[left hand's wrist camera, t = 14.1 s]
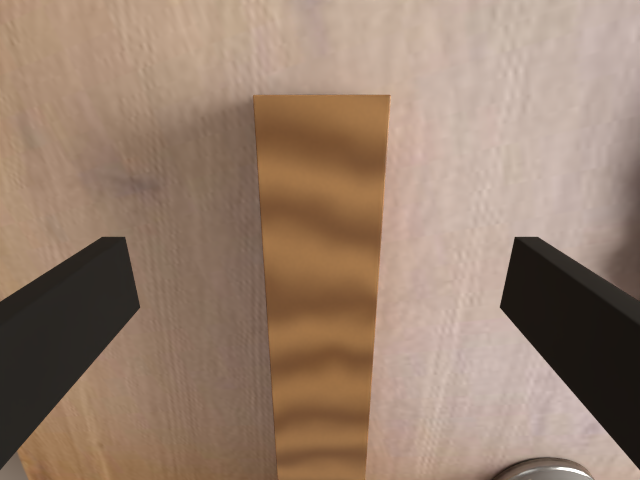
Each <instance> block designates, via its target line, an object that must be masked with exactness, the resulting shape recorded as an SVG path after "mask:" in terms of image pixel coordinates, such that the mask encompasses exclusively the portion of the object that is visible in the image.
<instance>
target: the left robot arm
mask: <svg viewBox="0 0 640 480" xmlns="http://www.w3.org/2000/svg"><path fill="white" fill-rule="evenodd" d="M139 308H140V304H139V300H138V295H137V290H136V286H135V281H134V276H133V272H132V267H131V262H130V258H129V253H128V248H127V244H126V239H125V237H101V238H100V239H98V240H97V241H95V242H94V243H92V244H90V245H89V246H87V247H86V248H84V249H83V250H81V251H79V252H78V253H76V254H75V255H73V256H72V257H70V258H68V259H67V260H65V261H64V262H62V263H60V264H59V265H57V266H56V267H54V268H53V269H51V270H49V271H48V272H46V273H45V274H43V275H42V276H40V277H38V278H37V279H35V280H34V281H32V282H31V283H29V284H27V285H26V286H24V287H23V288H21V289H20V290H18V291H16V292H15V293H13V294H12V295H10V296H9V297H7V298H5V299H4V300H2V301H1V302H0V470H1V468H2V467H3V466H4V465H5V464H6V463H7V461H8V460H9V459H10V458H11V457H12V456H13V454H14V453H15V452H16V451H17V450H18V449H19V448H20V446H21V445H22V444H23V443H24V442H25V441H26V439H27V438H28V437H29V436H30V435H31V434H32V432H33V431H34V430H35V429H36V428H37V427H38V425H39V424H40V423H41V422H42V421H43V420H44V419H45V417H46V416H47V415H48V414H49V413H50V412H51V410H52V409H53V408H54V407H55V406H56V405H57V403H58V402H59V401H60V400H61V399H62V398H63V396H64V395H65V394H66V393H67V392H68V391H69V389H70V388H71V387H72V386H73V385H74V384H75V383H76V381H77V380H78V379H79V378H80V377H81V376H82V374H83V373H84V372H85V371H86V370H87V369H88V367H89V366H90V365H91V364H92V363H93V362H94V360H95V359H96V358H97V357H98V356H99V355H100V353H101V352H102V351H103V350H104V349H105V348H106V347H107V345H108V344H109V343H110V342H111V341H112V340H113V338H114V337H115V336H116V335H117V334H118V333H119V331H120V330H121V329H122V328H123V327H124V326H125V324H126V323H127V322H128V321H129V320H130V319H131V318H132V316H133V315H134V314H135V313H136V312H137V311H138V309H139ZM500 308H501V309H502V311H503V312H504V313H505V314H506V315H507V316H508V318H509V319H510V320H511V321H512V322H513V323H514V324H515V326H516V327H517V328H518V329H519V330H520V331H521V333H522V334H523V335H524V336H525V337H526V338H527V340H528V341H529V342H530V343H531V344H532V345H533V347H534V348H535V349H536V350H537V351H538V352H539V353H540V355H541V356H542V357H543V358H544V359H545V360H546V362H547V363H548V364H549V365H550V366H551V367H552V369H553V370H554V371H555V372H556V373H557V374H558V376H559V377H560V378H561V379H562V380H563V381H564V383H565V384H566V385H567V386H568V387H569V388H570V389H571V391H572V392H573V393H574V394H575V395H576V396H577V398H578V399H579V400H580V401H581V402H582V403H583V405H584V406H585V407H586V408H587V409H588V410H589V412H590V413H591V414H592V415H593V416H594V417H595V419H596V420H597V421H598V422H599V423H600V424H601V425H602V427H603V428H604V429H605V430H606V431H607V432H608V434H609V435H610V436H611V437H612V438H613V439H614V441H615V442H616V443H617V444H618V445H619V446H620V448H621V449H622V450H623V451H624V452H625V453H626V454H627V456H628V457H629V458H630V459H631V460H632V461H633V463H634V464H635V465H636V466H637V467H638V468H639V470H640V302H639V301H638V300H636V299H635V298H633V297H631V296H630V295H628V294H627V293H625V292H624V291H622V290H620V289H619V288H617V287H616V286H614V285H613V284H611V283H609V282H608V281H606V280H605V279H603V278H602V277H600V276H598V275H597V274H595V273H594V272H592V271H591V270H589V269H587V268H586V267H584V266H583V265H581V264H580V263H578V262H576V261H575V260H573V259H572V258H570V257H568V256H567V255H565V254H564V253H562V252H561V251H559V250H557V249H556V248H554V247H553V246H551V245H550V244H548V243H546V242H545V241H543V240H542V239H540V238H539V237H515V239H514V244H513V248H512V253H511V258H510V262H509V267H508V272H507V276H506V281H505V286H504V290H503V295H502V300H501V304H500Z"/></svg>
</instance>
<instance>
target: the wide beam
mask: <svg viewBox="0 0 640 480" xmlns="http://www.w3.org/2000/svg"><path fill="white" fill-rule="evenodd" d="M390 100H391V96H390V95H253V104H254V119H255V135H256V151H257V166H258V182H259V197H260V213H261V228H262V244H263V260H264V275H265V291H266V306H267V322H268V337H269V353H270V369H271V384H272V400H273V415H274V431H275V446H276V462H277V478H278V480H365V471H366V456H367V441H368V427H369V412H370V397H371V382H372V367H373V352H374V337H375V323H376V308H377V293H378V278H379V263H380V248H381V233H382V219H383V204H384V189H385V174H386V159H387V144H388V129H389V115H390Z"/></svg>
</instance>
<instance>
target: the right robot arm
mask: <svg viewBox="0 0 640 480" xmlns="http://www.w3.org/2000/svg"><path fill="white" fill-rule="evenodd" d="M493 480H594V478H593V477H592V475H591V474H590V473H589V472H588V470H586V469H585V468H584V467H583V466H581V465H579V464H578V463H575V462H573V461H570V460H566V459H560V458H540V459H534V460H529V461H525V462H522V463H519V464H517V465H514V466H512V467H510V468H508V469H506V470H505V471H503V472H501V473H500V474H499V475H497V476H496V477H495V478H494V479H493Z"/></svg>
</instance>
